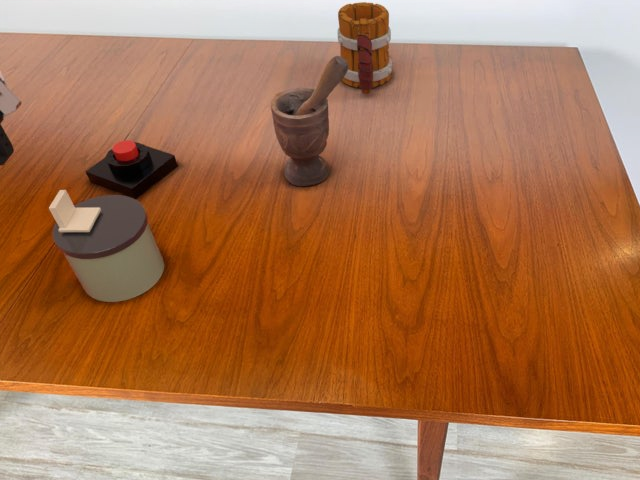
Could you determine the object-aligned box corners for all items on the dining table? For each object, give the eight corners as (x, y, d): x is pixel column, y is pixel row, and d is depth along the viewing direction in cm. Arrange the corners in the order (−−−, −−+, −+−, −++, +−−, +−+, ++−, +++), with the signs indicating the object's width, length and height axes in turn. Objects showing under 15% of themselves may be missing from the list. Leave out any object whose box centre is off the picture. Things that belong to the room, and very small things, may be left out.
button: (111, 158, 93) (107, 149, 92) (127, 147, 96) (123, 138, 94) (127, 164, 92) (124, 155, 91) (143, 152, 94) (140, 143, 93)
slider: (59, 232, 73) (46, 210, 70) (72, 209, 76) (60, 187, 73) (89, 232, 73) (78, 210, 70) (101, 209, 76) (90, 187, 73)
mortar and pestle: (342, 150, 101) (334, 36, 86) (358, 179, 95) (352, 62, 80) (277, 165, 98) (257, 49, 83) (289, 195, 92) (270, 76, 78)
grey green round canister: (68, 303, 77) (37, 253, 71) (97, 244, 85) (72, 194, 78) (153, 303, 77) (130, 253, 70) (174, 244, 85) (156, 194, 78)
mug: (390, 62, 122) (390, -13, 111) (394, 102, 111) (395, 23, 100) (339, 63, 122) (334, -12, 111) (338, 104, 111) (332, 25, 100)
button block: (90, 182, 95) (80, 161, 92) (133, 150, 101) (125, 130, 98) (136, 199, 92) (127, 179, 89) (178, 165, 98) (171, 145, 95)
